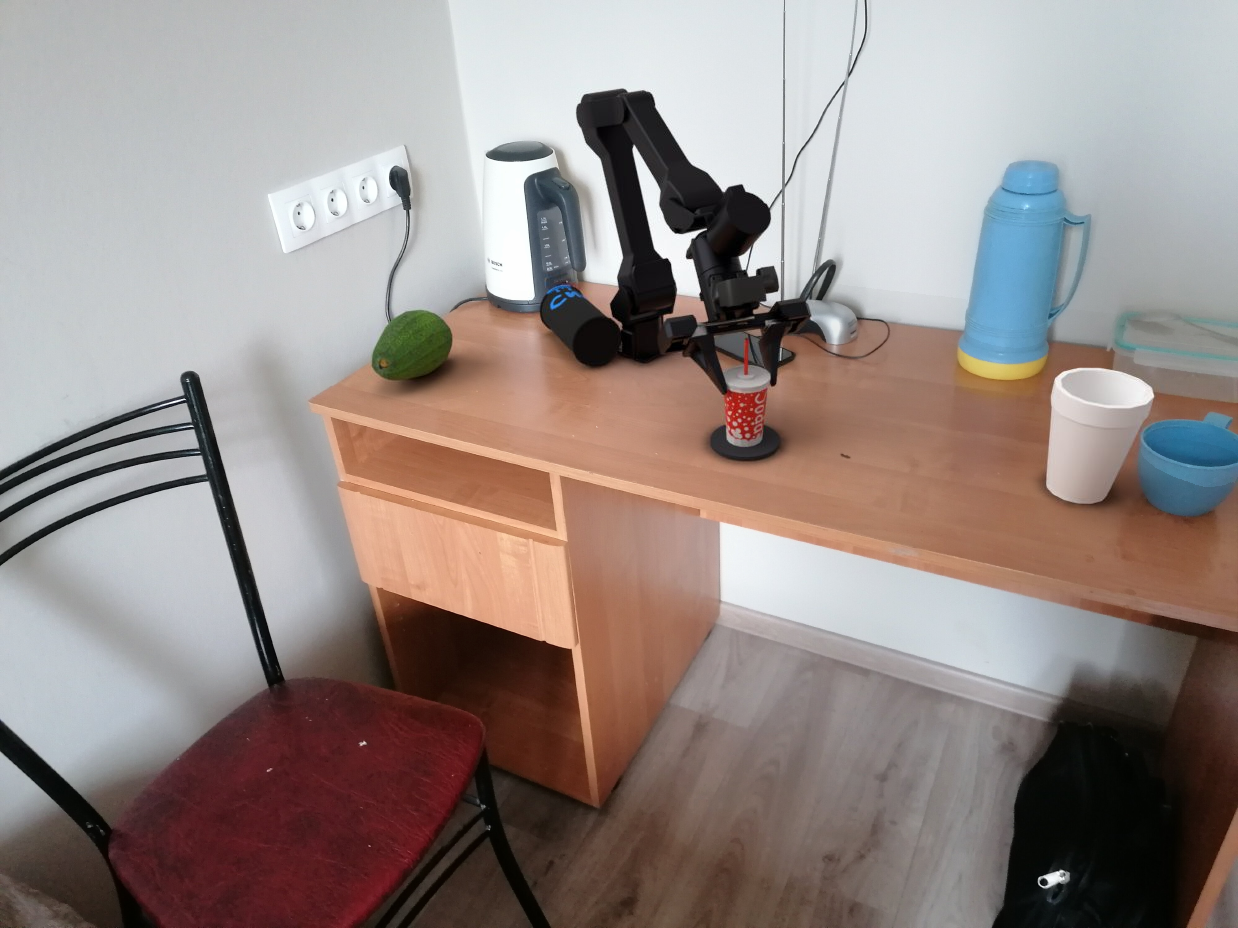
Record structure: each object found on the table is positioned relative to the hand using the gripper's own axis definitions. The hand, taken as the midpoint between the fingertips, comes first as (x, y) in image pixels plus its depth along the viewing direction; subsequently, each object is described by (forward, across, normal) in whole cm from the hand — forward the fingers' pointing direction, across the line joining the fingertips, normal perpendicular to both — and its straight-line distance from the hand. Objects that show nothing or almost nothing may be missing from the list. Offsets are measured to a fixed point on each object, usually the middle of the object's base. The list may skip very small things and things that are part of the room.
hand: (749, 390), depth 105 cm
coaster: (+5, 0, +7) cm, 8 cm away
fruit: (-20, -41, +33) cm, 56 cm away
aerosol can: (-18, -13, +24) cm, 33 cm away
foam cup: (+21, +32, -9) cm, 39 cm away
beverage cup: (+5, 0, +7) cm, 8 cm away
